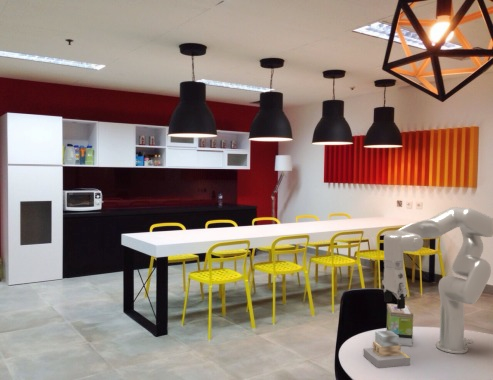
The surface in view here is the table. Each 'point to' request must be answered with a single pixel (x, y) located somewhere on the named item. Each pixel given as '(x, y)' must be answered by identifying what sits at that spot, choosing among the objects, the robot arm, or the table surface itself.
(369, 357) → the dock
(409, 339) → the tea box
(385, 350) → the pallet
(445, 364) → the table surface
